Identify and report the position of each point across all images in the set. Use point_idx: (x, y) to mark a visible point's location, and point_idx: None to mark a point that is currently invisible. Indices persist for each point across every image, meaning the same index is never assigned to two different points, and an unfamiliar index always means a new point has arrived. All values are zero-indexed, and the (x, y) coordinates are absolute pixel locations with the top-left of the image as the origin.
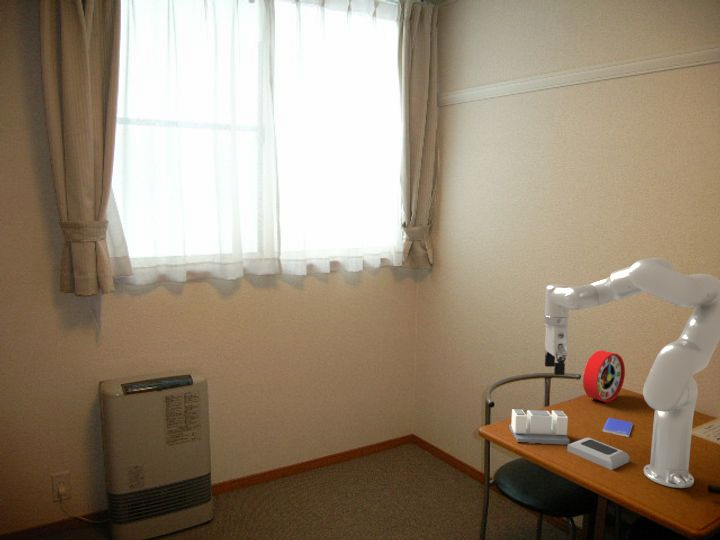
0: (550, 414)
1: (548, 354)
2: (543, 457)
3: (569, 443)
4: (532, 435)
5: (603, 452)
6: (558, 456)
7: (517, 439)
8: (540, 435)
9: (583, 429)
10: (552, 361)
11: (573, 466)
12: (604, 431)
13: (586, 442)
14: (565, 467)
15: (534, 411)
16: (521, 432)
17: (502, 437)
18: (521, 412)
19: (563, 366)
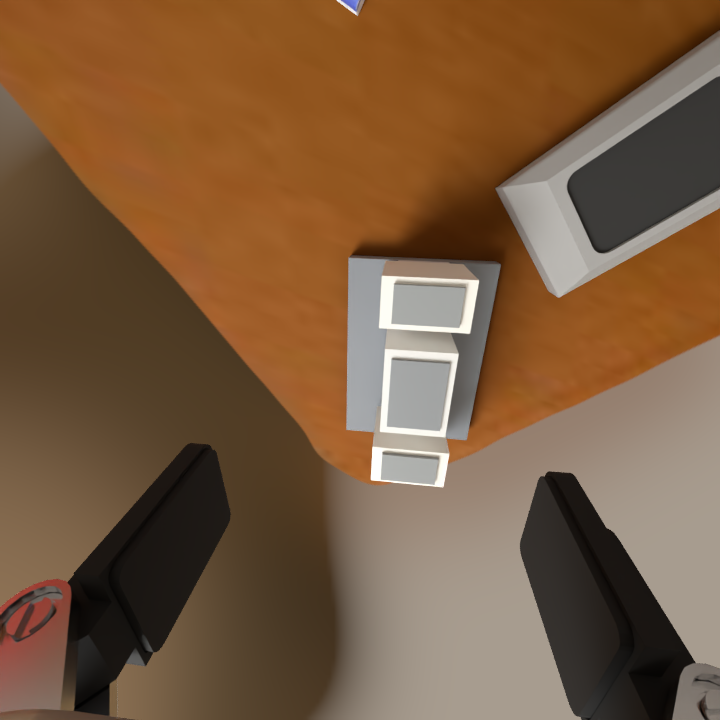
0: (432, 352)
1: (121, 660)
2: (581, 389)
3: (497, 262)
4: None
5: (708, 173)
6: (585, 339)
7: (466, 437)
8: None
9: (338, 126)
10: (184, 514)
11: (675, 316)
12: (361, 4)
13: (582, 214)
14: (672, 346)
15: (402, 412)
16: None
17: None
18: (417, 465)
19: (631, 592)
